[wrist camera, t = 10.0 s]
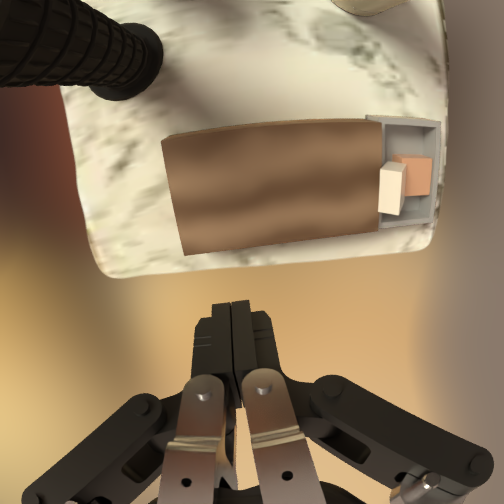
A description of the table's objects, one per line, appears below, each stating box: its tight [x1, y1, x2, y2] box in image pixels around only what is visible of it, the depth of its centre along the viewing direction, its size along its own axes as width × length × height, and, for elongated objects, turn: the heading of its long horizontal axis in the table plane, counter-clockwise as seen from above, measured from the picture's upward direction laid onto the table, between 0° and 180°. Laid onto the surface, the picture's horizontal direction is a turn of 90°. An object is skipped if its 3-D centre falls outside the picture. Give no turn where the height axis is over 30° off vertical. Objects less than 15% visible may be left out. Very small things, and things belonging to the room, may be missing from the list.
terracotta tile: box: [392, 154, 432, 196], centre depth 34 cm, size 5×5×2 cm
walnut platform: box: [161, 119, 382, 256], centre depth 32 cm, size 13×23×5 cm, turn 96°
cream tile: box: [378, 161, 407, 215], centre depth 31 cm, size 5×5×2 cm
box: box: [365, 115, 441, 229], centre depth 33 cm, size 14×10×4 cm
